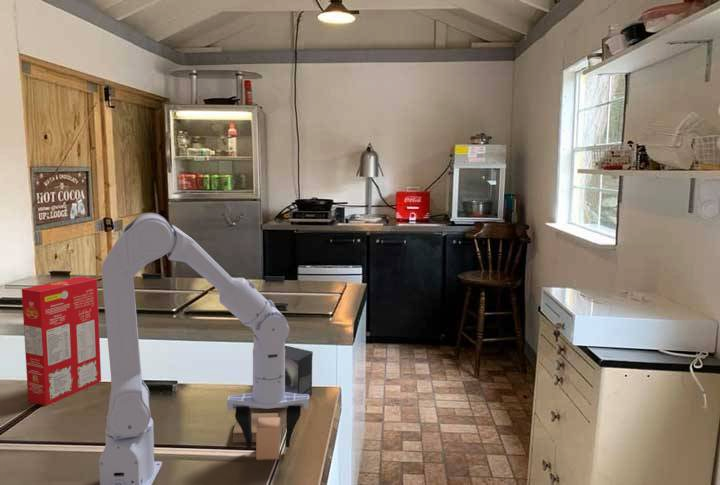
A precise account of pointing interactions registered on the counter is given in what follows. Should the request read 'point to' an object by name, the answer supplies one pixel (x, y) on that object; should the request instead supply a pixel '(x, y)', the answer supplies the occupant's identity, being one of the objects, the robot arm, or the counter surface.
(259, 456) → the block
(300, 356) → the small box
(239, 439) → the plinth
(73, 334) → the food packaging
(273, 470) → the counter surface
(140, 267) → the robot arm
